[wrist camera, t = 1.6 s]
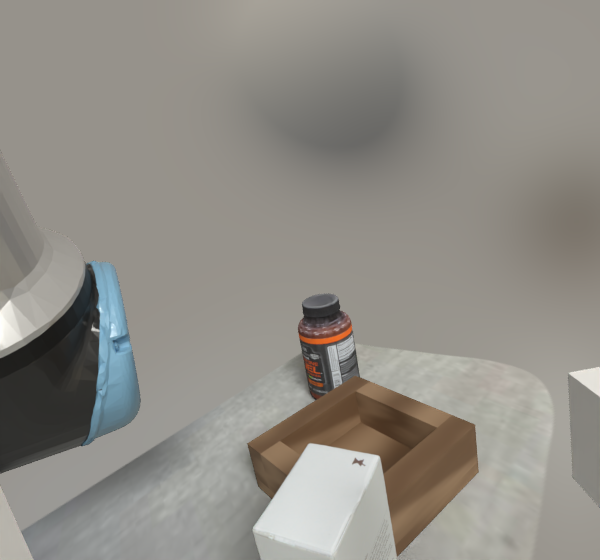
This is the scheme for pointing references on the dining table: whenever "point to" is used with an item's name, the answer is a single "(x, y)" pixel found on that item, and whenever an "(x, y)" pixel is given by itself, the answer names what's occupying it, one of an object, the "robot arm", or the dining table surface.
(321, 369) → the supplement bottle
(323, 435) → the walnut tray
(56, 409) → the robot arm
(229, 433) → the dining table surface
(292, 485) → the skincare box
